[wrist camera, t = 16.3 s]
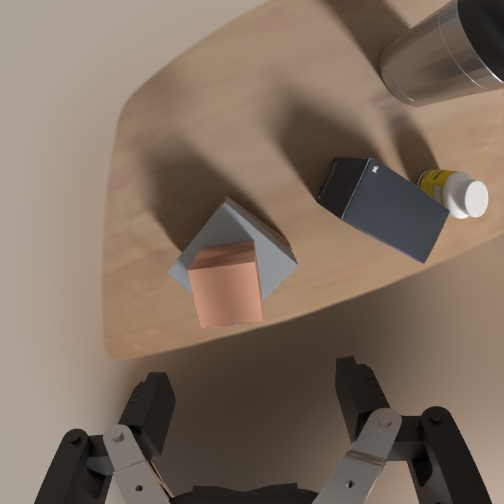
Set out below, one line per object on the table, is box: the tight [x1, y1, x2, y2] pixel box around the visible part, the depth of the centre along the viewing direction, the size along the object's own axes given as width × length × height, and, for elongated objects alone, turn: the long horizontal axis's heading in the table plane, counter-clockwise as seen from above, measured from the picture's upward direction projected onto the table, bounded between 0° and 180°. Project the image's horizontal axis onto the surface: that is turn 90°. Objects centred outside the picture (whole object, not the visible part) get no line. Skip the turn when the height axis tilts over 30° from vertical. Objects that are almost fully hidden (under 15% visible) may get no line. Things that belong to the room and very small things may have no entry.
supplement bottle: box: [417, 169, 488, 219], centre depth 28 cm, size 5×5×10 cm
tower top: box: [167, 197, 298, 327], centre depth 30 cm, size 9×9×4 cm
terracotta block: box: [188, 241, 263, 328], centre depth 25 cm, size 5×5×6 cm
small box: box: [316, 156, 450, 264], centre depth 28 cm, size 11×6×10 cm, turn 66°
